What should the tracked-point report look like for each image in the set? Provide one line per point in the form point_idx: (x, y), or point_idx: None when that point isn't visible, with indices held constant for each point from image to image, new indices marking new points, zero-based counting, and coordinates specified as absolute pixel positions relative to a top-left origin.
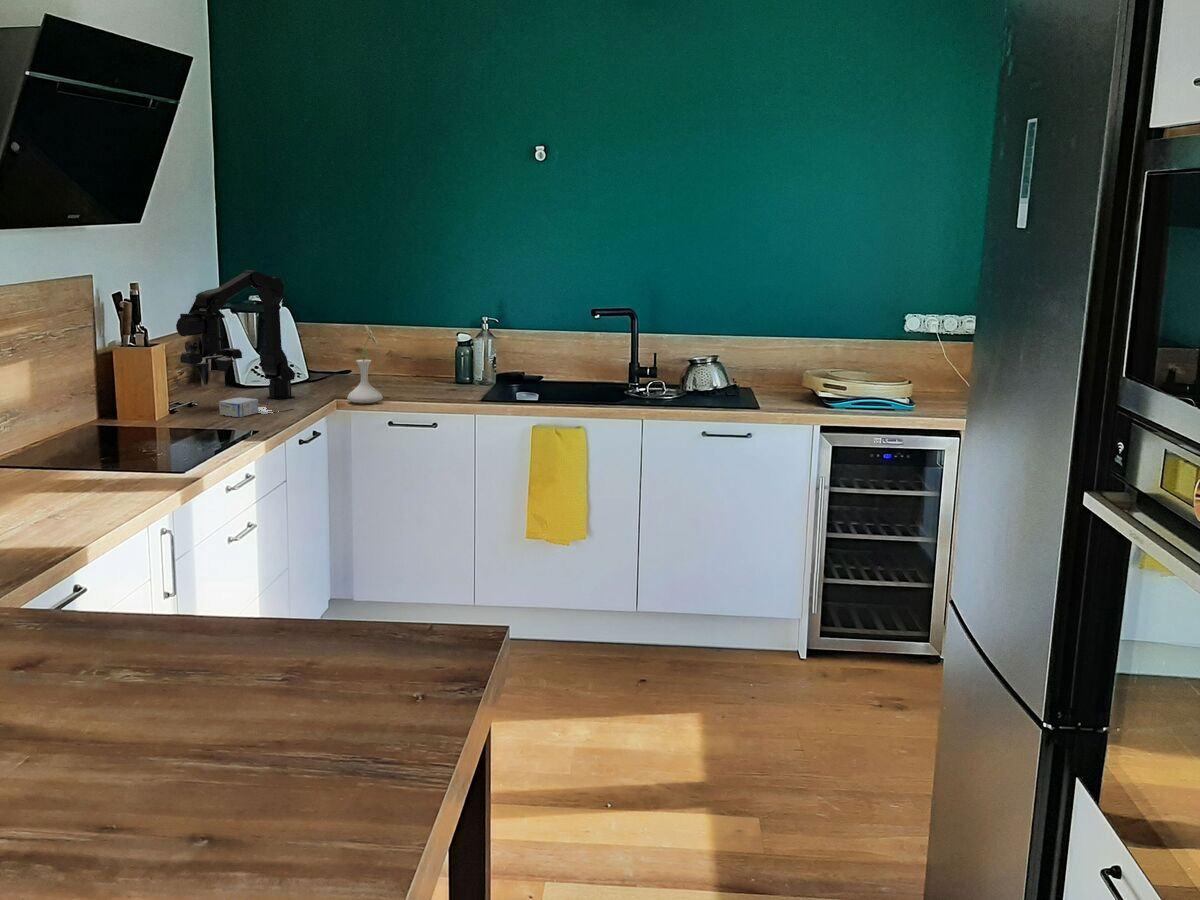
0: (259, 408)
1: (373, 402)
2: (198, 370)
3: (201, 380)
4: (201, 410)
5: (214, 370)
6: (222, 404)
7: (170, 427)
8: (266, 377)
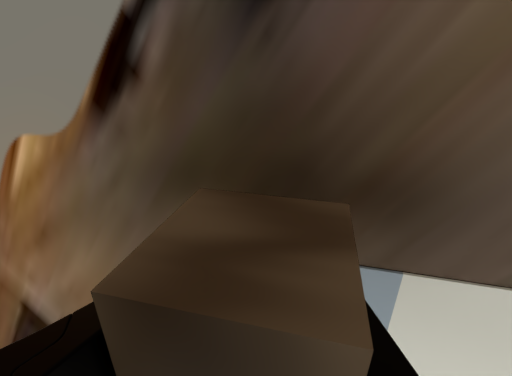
0: (420, 339)
1: None
2: (2, 361)
3: (166, 224)
4: (233, 150)
5: (340, 368)
6: None
7: (27, 297)
8: None
